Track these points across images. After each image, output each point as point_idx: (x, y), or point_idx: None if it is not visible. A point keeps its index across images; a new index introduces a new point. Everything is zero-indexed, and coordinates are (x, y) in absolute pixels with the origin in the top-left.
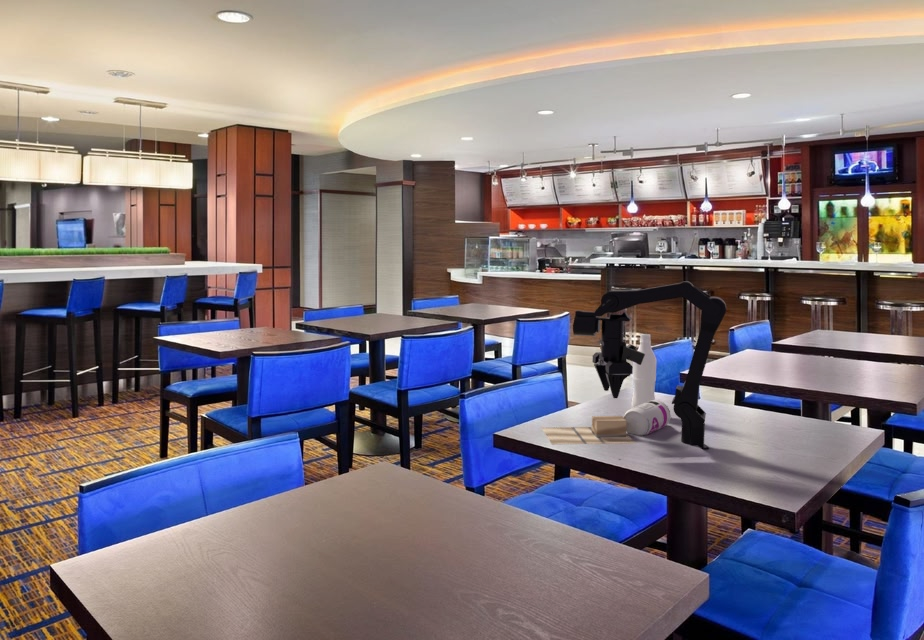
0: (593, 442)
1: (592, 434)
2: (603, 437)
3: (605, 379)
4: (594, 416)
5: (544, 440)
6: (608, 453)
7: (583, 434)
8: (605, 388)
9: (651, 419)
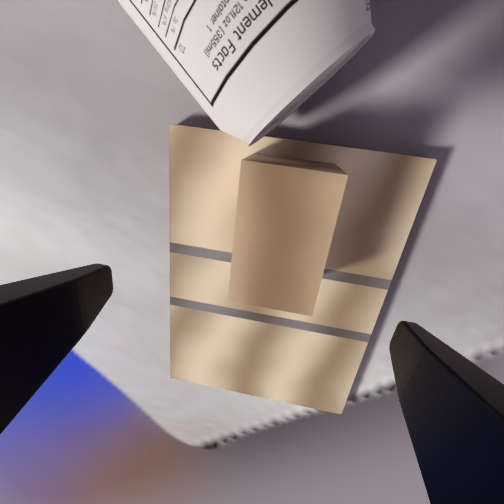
0: (366, 312)
1: None
2: None
3: (20, 357)
4: (233, 293)
5: None
6: (450, 288)
7: None
8: (99, 297)
9: None
